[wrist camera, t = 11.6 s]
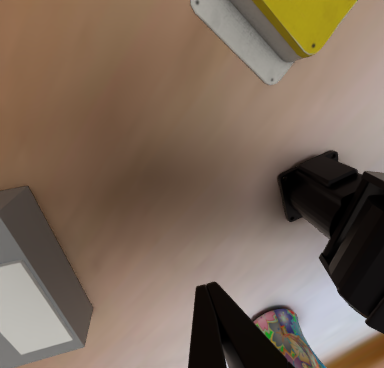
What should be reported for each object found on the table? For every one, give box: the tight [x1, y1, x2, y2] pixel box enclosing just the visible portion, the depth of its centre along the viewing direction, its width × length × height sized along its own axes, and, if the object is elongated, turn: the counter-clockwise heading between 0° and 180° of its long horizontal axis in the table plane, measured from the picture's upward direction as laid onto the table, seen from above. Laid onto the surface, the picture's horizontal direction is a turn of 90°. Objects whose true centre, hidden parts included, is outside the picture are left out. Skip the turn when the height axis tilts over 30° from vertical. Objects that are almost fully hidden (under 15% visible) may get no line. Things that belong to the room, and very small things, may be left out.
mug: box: [254, 309, 326, 368], centre depth 28 cm, size 12×9×11 cm
